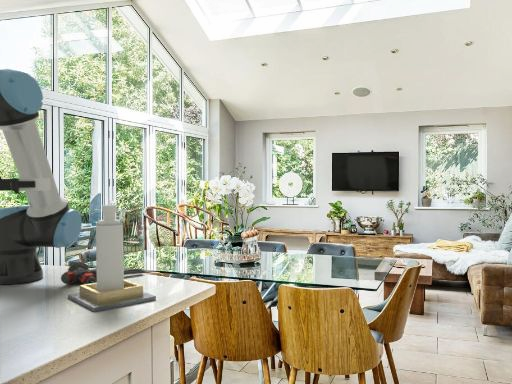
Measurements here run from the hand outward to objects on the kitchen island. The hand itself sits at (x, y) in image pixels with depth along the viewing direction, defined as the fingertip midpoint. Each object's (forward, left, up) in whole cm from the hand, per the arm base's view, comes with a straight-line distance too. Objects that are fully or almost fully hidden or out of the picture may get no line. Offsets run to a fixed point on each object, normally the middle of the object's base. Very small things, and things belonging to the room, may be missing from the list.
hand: (40, 184), depth 107 cm
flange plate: (0, +17, -30) cm, 34 cm away
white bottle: (0, +16, -29) cm, 34 cm away
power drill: (-22, +25, -31) cm, 45 cm away
